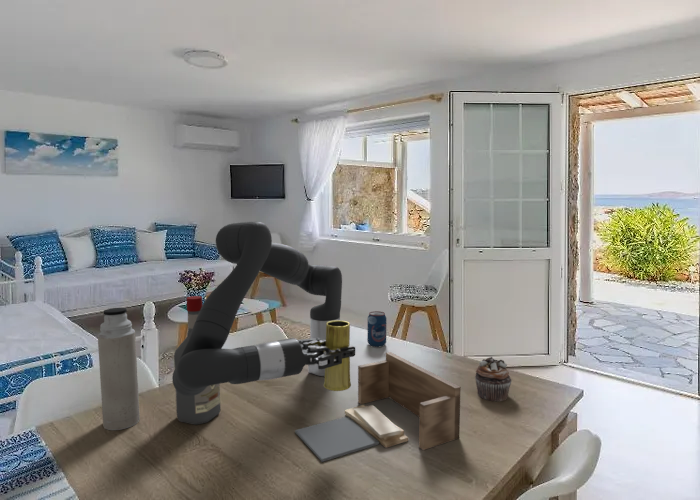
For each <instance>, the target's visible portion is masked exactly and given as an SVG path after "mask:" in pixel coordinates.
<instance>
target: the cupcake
mask: <svg viewBox="0 0 700 500" xmlns="http://www.w3.org/2000/svg"><path fill="white" fill-rule="evenodd" d="M478 364H479V365H478V367H476V369H475V376H474V378H475V384H476V385H475V386H476V389H477V395H478V396H479V397H480V398H481V399H483V400H486V401H491V402H503V401H506V400H507V399H508V397H509V392H510V388H511V385H512V380H513V379H512V378H511V376H510V375H509V370H508V368H507V366H508V364H507V363H506V361H504V360H503V359H499V360H498V359H494V358H493V356H490V357H487V358H486V359H482V360H481V361H479V363H478Z"/></svg>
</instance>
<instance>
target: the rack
mask: <svg viewBox="0 0 700 500" xmlns="http://www.w3.org/2000/svg"><path fill="white" fill-rule="evenodd" d="M357 382H358V383H357V389H358V391H357V402H358V403H359V404H360V405H358V406H357V405H356V406H355V407H351V408H347V409H345V410H344V414H345V417H347V416H348V417H349V418H351V419H352V420H353V421H354V422H355V423H357V424H358V425H359V426H360V427H362V428H363V429H364V430H365V431H367V432H368V433H369V434H370V435H371V436H373V437H374V438H375V439H376V440H378V441H379V445H380V444H381V445H382V446H383V447H384V448H390V447H393V446H396V445H400V444H402V443H406V442H408V441H409V437H408V436H407V435H406V434H405V430H404V429H402V428H401V427H399V426H397V425H396V424H395V423H394V422H392V421H391V420H390V419H389V418H388V417H387V416H386V415H384V413H383V412H382V411H380V410H379V409H378V408H377V407H376V406H374V405H373V404H371V405H368V406H367V405H365V404H367V403H368V404H369V403H372V402H375V401H379V400H383V399H387V398H389V399H390V400H392V401H393V402H395V403H397V404H398V405H399V406H401V407H402V408H404V409H406V410H407V411H409V412H411V414H413V415H415V416H416V417H419V425H418V426H419V429H418V430H419V431H418V432H419V433H418V434H419V435H418V448H420V449H421V450H423V451H425V450H428V449H431V448H434V447H437V446H440V445H442V444H445V443H449V442H452V441H454V440H457V439H460V429H461V427H460V425H461V393H462V392H461V390H462V389H461V386H459V385H458V384H455V383H454V382H451V381H450V380H447V379H445V378H444V377H442V376H439V375H438V374H436V373H434V372H431V371H429V370H427V369H425V368H424V367H421V366H419V365H417V364H415V363H414V362H411V361H409V360H407V359H405V358H403V357H401V356H400V355H397V354H395V353H393V352H391V351H390V352H389V351H388V352H385V360H380V361H376V362H375V361H374V362H371V363H364V364H361V365H357Z"/></svg>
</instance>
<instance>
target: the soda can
mask: <svg viewBox="0 0 700 500" xmlns="http://www.w3.org/2000/svg"><path fill="white" fill-rule="evenodd" d="M366 336H367V344H368V346H369V347H371V346H372V348H383V347H384V346H385V345H386V343H387V316H386V314H385V312H383V311H379V310H378V311H377V310H375V311H370V312H369V313H368V316H367V335H366Z"/></svg>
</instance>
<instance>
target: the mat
mask: <svg viewBox="0 0 700 500" xmlns="http://www.w3.org/2000/svg"><path fill="white" fill-rule="evenodd" d="M294 433H295V435H296V436H298V438H300V440H301V441H302V442H303V443H304V444H305V445H306V446H307V447H308V448H309V450H311V452H312V453H313V454H314V455H315V457H317V458H318V459H319V461H320V462H321V463H323V462H326V461H329V460H333V459H335V458H339V457H342V456H345V455H349V454H352V453H355V452H356V453H357V452H359V451H362V450H364V449H368V448H371V447H375V446H378V445H380V443H379V441H378V440H376V439H375V438H374V437H373V436H371V435H370V434H369V433H368V432H367V431H365V430H364V429H363V428H362V427H360V426H359V425H358V424H357V423H355V422H354V421H353V420H352V419H351V418H349V417H348V416H343V417H340V418H336V419H333V420H332V419H331V420H328V421H324V422H321V423H320V422H319V423H318V424H313V425H310V426H305V427H302V428H298V429H295V430H294Z"/></svg>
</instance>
